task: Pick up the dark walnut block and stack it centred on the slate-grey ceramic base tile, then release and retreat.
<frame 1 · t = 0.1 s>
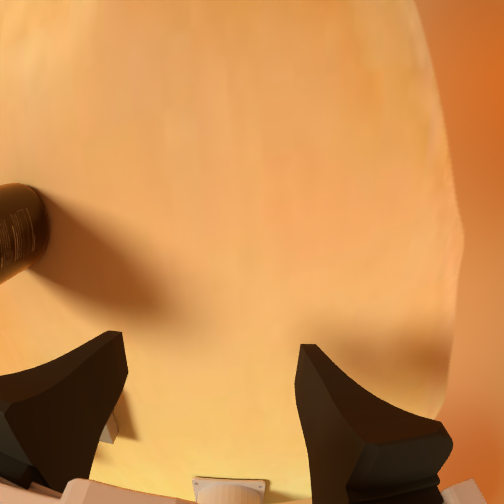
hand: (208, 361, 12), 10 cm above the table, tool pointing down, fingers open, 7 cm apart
supplement bottle: (22, 224, 21), on the table
base tile: (79, 399, 25), on the table
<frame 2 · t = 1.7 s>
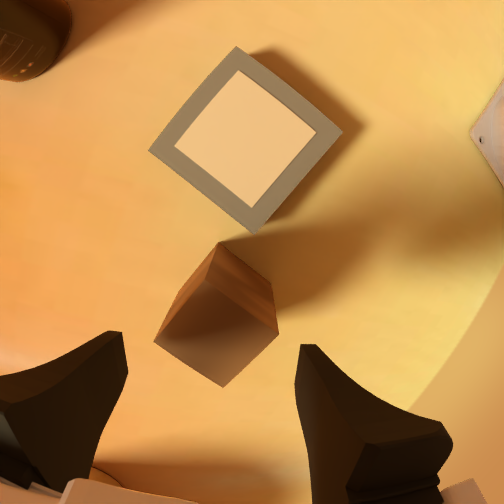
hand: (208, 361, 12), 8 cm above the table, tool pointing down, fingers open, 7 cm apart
plant pot: (95, 480, 27), on the table
supplement bottle: (37, 40, 15), on the table
base tile: (245, 139, 17), on the table
walnut block: (224, 287, 20), on the table
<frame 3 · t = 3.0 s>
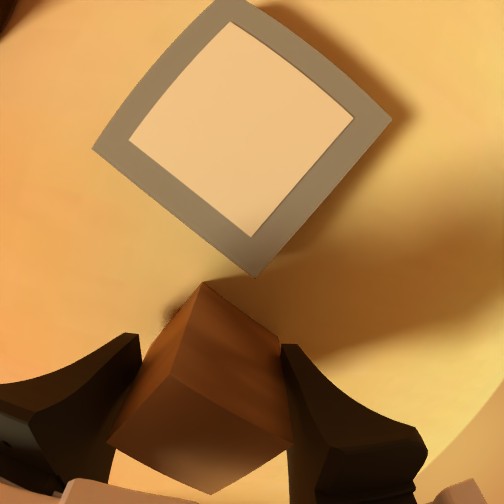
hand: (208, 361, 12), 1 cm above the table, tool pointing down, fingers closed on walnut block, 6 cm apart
base tile: (241, 129, 11), on the table
walnut block: (212, 342, 14), on the table, touching gripper
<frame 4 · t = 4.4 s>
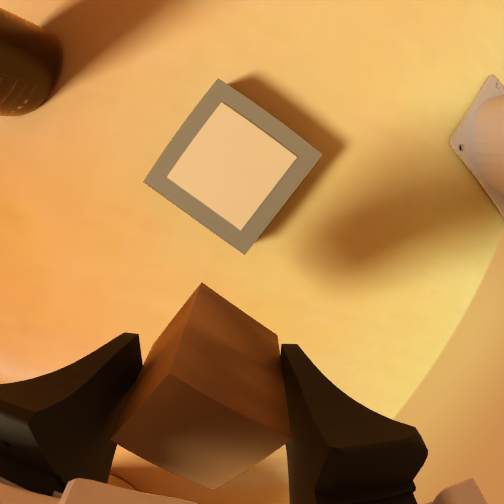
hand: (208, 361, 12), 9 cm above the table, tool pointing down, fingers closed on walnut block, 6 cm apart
plant pot: (110, 485, 28), on the table
supplement bottle: (30, 74, 16), on the table
base tile: (232, 165, 19), on the table
walnut block: (212, 341, 14), point 7 cm above the table, touching gripper
when the fingers open (6 cm above the table, at t = 5.3 s): walnut block stays where it is, resting on base tile.
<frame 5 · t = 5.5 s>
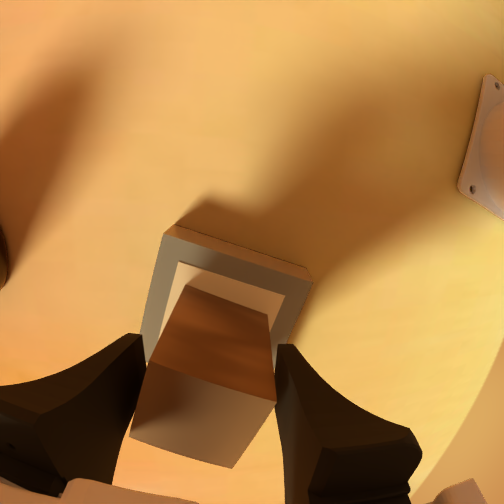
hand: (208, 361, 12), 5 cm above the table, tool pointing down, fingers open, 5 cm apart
base tile: (219, 307, 17), on the table
walnut block: (212, 334, 15), point 2 cm above the table, touching base tile, gripper
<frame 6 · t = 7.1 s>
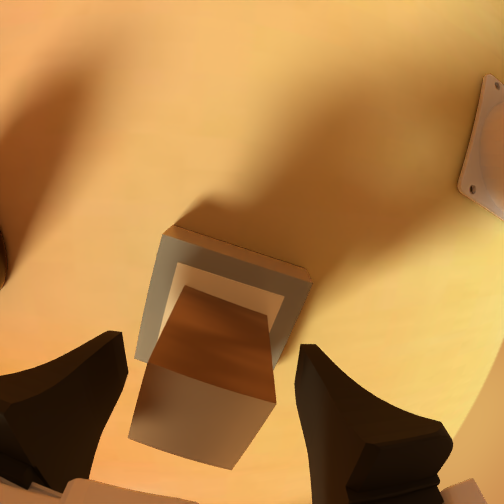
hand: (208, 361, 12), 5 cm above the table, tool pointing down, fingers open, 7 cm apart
base tile: (219, 307, 17), on the table
walnut block: (211, 335, 15), point 2 cm above the table, touching base tile
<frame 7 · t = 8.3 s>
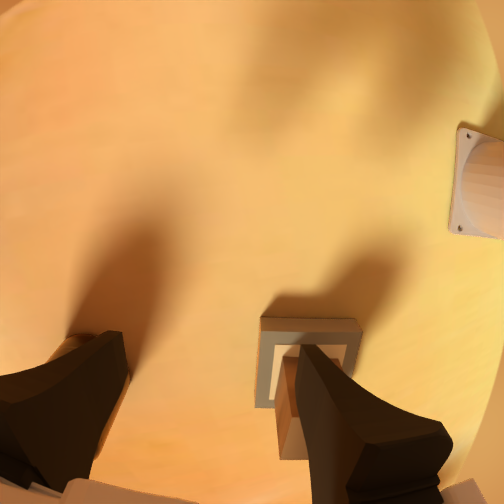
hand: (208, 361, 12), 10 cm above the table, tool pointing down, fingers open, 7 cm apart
supplement bottle: (97, 364, 24), on the table
base tile: (302, 358, 24), on the table
walnut block: (305, 379, 22), point 2 cm above the table, touching base tile
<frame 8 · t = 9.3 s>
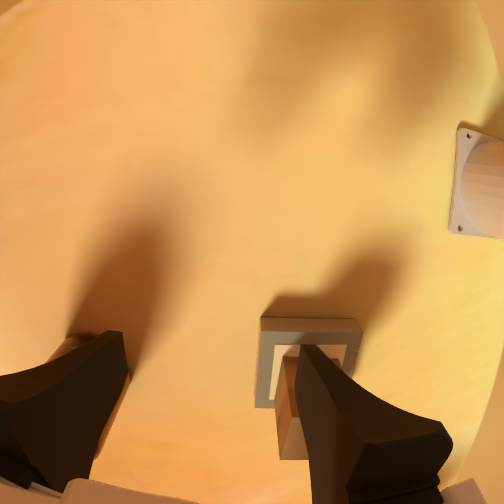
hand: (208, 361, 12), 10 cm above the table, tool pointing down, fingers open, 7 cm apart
supplement bottle: (97, 364, 24), on the table
base tile: (302, 358, 24), on the table
walnut block: (305, 379, 22), point 2 cm above the table, touching base tile
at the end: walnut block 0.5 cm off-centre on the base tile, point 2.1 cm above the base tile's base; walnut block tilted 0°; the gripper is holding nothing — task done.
